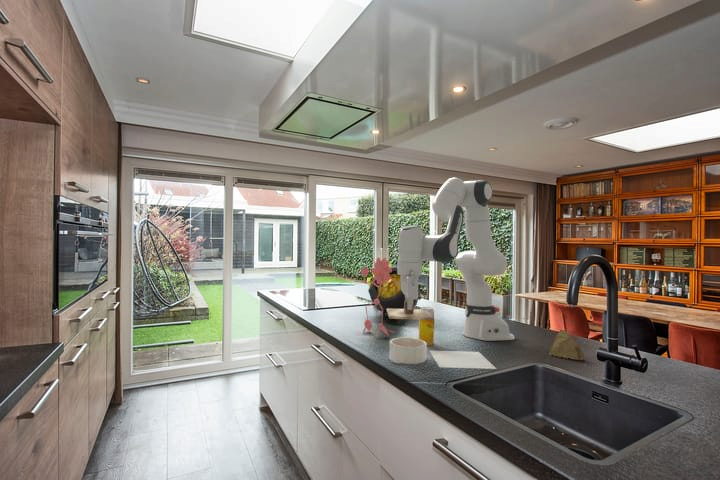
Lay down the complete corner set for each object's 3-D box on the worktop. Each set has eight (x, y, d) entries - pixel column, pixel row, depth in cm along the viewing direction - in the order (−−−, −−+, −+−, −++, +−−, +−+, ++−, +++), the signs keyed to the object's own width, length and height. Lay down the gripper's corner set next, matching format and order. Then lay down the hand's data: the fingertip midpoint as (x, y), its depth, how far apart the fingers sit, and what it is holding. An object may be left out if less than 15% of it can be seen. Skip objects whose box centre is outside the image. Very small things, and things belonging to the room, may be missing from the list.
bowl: (422, 354, 139) (423, 338, 139) (428, 365, 126) (429, 347, 126) (388, 353, 139) (388, 337, 139) (391, 364, 126) (391, 346, 126)
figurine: (388, 342, 154) (391, 258, 155) (350, 330, 174) (353, 256, 175) (413, 338, 164) (416, 259, 164) (374, 326, 184) (377, 256, 184)
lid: (425, 311, 140) (426, 299, 140) (433, 319, 125) (433, 305, 125) (386, 310, 140) (386, 297, 140) (389, 318, 125) (389, 304, 125)
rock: (592, 354, 136) (569, 343, 146) (585, 337, 134) (562, 327, 143) (572, 373, 134) (550, 360, 144) (564, 356, 132) (542, 345, 141)
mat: (478, 353, 142) (478, 351, 142) (496, 370, 123) (496, 368, 123) (429, 351, 142) (429, 350, 142) (439, 368, 123) (439, 367, 123)
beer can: (433, 346, 149) (434, 309, 149) (418, 345, 150) (419, 308, 150) (433, 343, 155) (434, 307, 155) (418, 341, 156) (419, 306, 156)
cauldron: (435, 309, 207) (424, 286, 190) (393, 335, 207) (378, 314, 191) (413, 276, 227) (400, 253, 211) (374, 300, 228) (359, 279, 211)
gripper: (423, 272, 123) (422, 314, 122) (414, 268, 143) (413, 303, 143) (404, 272, 123) (403, 313, 122) (398, 267, 143) (397, 303, 143)
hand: (408, 308), depth 133 cm, fingers closed on lid, 3 cm apart
